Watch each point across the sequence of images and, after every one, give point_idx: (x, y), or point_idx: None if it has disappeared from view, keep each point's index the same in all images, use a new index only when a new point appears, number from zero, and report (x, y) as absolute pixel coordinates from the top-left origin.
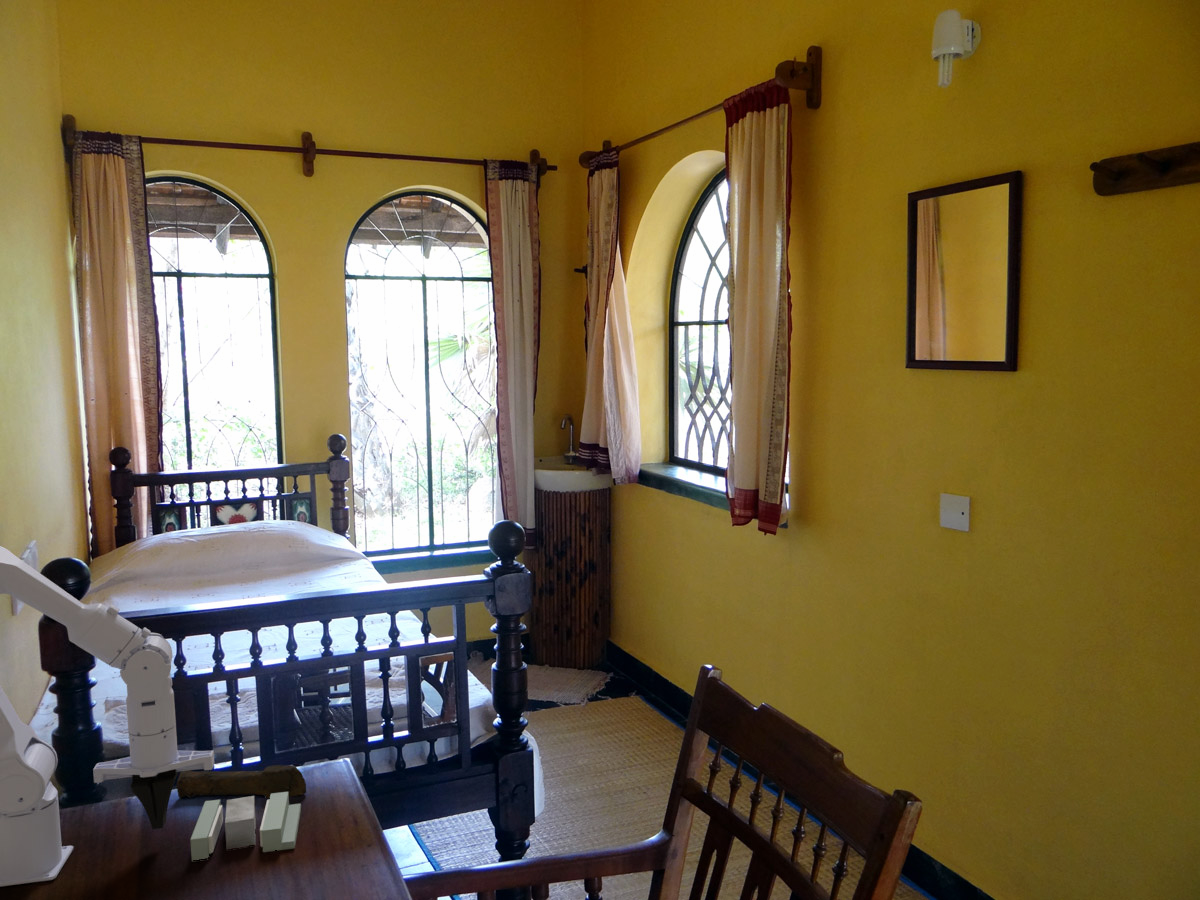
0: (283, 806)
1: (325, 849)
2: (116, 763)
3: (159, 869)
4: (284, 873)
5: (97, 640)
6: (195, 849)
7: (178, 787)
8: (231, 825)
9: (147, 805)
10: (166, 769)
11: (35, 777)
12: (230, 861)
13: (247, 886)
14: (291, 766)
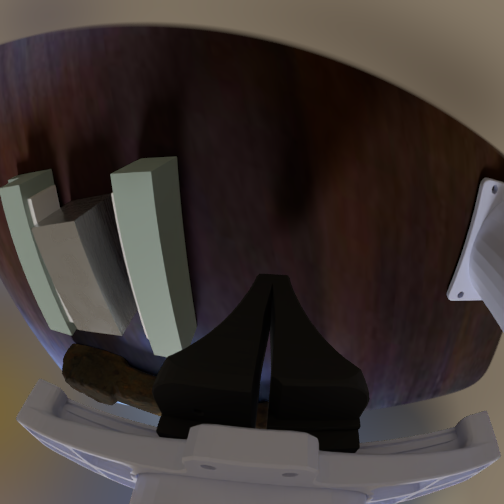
0: (29, 278)
1: None
2: (418, 492)
3: (253, 136)
4: (15, 90)
5: None
6: (153, 163)
7: (265, 416)
8: (69, 218)
9: (295, 322)
10: (150, 445)
11: None
12: (94, 141)
13: (55, 43)
14: (71, 386)
